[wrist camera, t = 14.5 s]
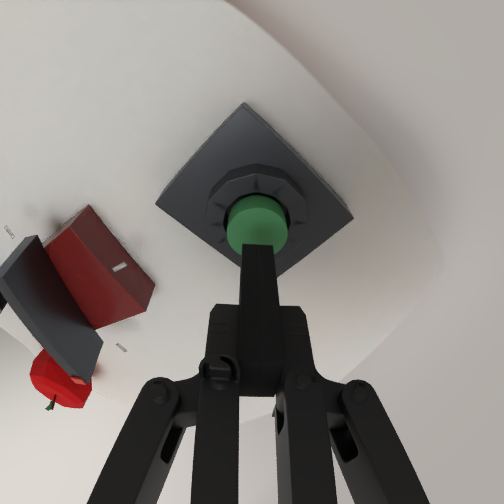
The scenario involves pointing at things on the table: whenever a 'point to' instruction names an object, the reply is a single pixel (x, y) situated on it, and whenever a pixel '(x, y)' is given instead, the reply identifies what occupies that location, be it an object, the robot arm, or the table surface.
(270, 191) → the control block
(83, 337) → the red-tipped grey slab
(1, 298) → the camera
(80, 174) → the table surface
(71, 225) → the red rectangular box
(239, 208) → the green push button
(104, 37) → the table surface
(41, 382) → the apple
